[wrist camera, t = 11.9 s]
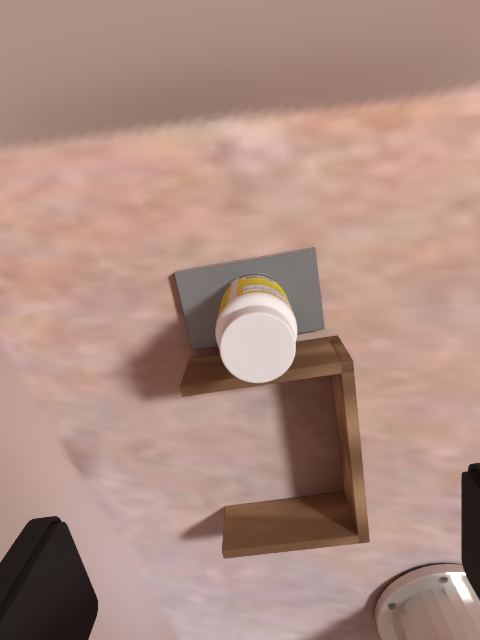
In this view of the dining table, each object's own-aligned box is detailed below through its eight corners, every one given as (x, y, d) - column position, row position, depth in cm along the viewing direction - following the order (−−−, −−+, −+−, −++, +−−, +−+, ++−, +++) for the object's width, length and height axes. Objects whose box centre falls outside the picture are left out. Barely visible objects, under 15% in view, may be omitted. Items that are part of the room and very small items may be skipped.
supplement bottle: (245, 346, 29) (243, 405, 21) (208, 295, 27) (192, 338, 19) (300, 312, 28) (320, 361, 20) (264, 258, 26) (271, 287, 18)
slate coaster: (323, 326, 29) (324, 329, 28) (193, 346, 29) (192, 349, 29) (313, 247, 27) (315, 248, 26) (175, 271, 27) (174, 273, 27)
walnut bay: (354, 497, 34) (369, 542, 29) (227, 513, 34) (223, 558, 30) (337, 335, 29) (352, 360, 24) (189, 358, 30) (179, 386, 25)
